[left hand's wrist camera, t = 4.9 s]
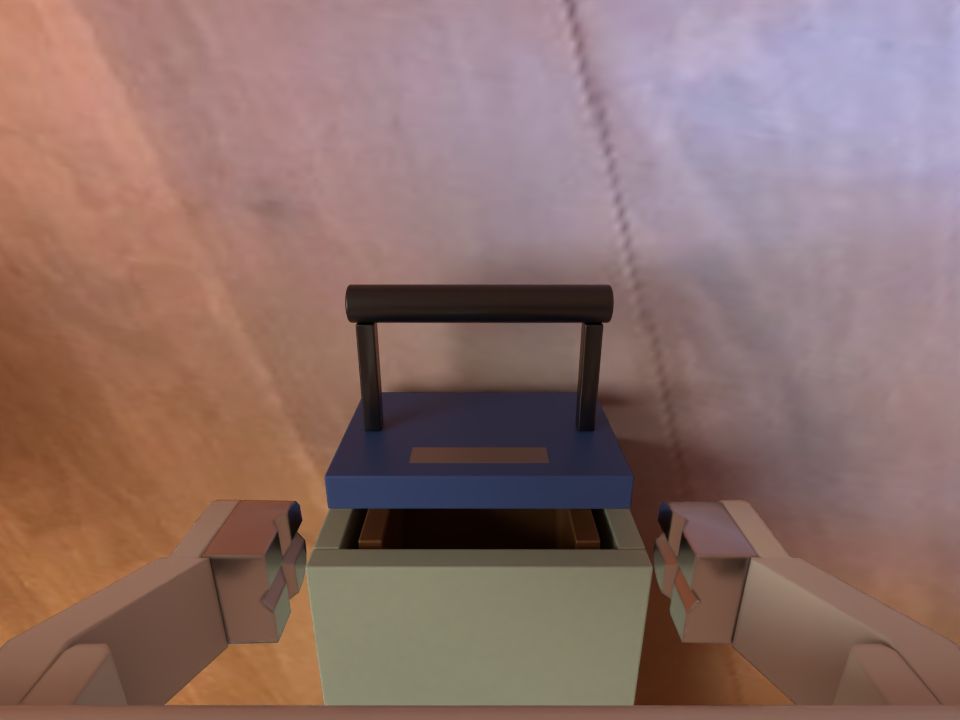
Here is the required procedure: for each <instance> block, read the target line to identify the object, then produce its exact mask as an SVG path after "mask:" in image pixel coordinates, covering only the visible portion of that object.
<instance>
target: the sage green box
mask: <svg viewBox="0 0 960 720" xmlns="http://www.w3.org/2000/svg"><path fill="white" fill-rule="evenodd" d="M367 512H368V509H329V511H328V514H327V516H326V519H325V521H324V523H323V526H322V528H321V531H320V533H319V536H318V538H317V540H316V543H315V545H314V548H313V550H312V553H311V555H310V558H309V560H308V562H307V565H306V568H305V569H306V576H307V583H308V591H309V598H310V605H311V612H312V619H313V626H314V634H315V641H316V648H317V655H318V662H319V669H320V677H321V684H322V691H323V698H324V705H634V702H635V695H636V688H637V681H638V674H639V667H640V659H641V652H642V645H643V638H644V631H645V623H646V616H647V609H648V602H649V595H650V588H651V580H652V573H653V566H652V564H651V561H650V559H649V556H648V554H647V552H646V550H645V549H646V548H645V546H644V544H643V541H642V539H641V536H640V534H639V531H638V529H637V526H636V524H635V522H634V519H633V517H632V514H631V512H630V509H591V512H592V515H593V518H594V522H595V525H596V528H597V531H598V535H599V538H600V541H601V542H600V549H359V544H358V541H359V537H360V534H361V531H362V528H363V525H364V521H365V518H366V515H367Z"/></svg>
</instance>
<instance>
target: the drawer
mask: <svg viewBox="0 0 960 720" xmlns="http://www.w3.org/2000/svg"><path fill="white" fill-rule="evenodd" d="M613 304H614V299H613V291H612V288H611V286H610V285H349V286H348V287H347V291H346V297H345V307H346V314H347V318H348V320H349V322H351V323H357V324H356V336H357V348H358V360H359V372H360V384H361V396H362V398H361V400H360V403H359V405H358V407H357V409H356V411H355V413H354V415H353V417H352V420H351V422H350V424H349V426H348V428H347V430H346V432H345V434H344V436H343V439H342V441H341V443H340V445H339V447H338V449H337V451H336V453H335V456H334V458H333V460H332V462H331V464H330V466H329V468H328V470H327V473H326V475H325V485H326V493H327V502H328V508H330V509H368V512H367V515H366V518H365V521H364V525H363V528H362V531H361V534H360V537H359V541H358V544H359V549H600V542H601V541H600V538H599V535H598V531H597V528H596V525H595V522H594V518H593V515H592V512H591V509H629V508H630V507H631V499H632V490H633V482H634V476H633V474H632V471H631V469H630V467H629V465H628V463H627V461H626V458H625V456H624V454H623V452H622V450H621V448H620V446H619V443H618V441H617V439H616V437H615V435H614V433H613V430H612V428H611V426H610V424H609V422H608V420H607V418H606V415H605V413H604V411H603V409H602V407H601V405H600V403H599V400H598V398H597V395H598V383H599V371H600V359H601V347H602V335H603V324H602V323H608V322H610V320H611V318H612V314H613ZM377 323H582V331H581V346H580V360H579V375H578V389H577V393H485V392H382V390H381V376H380V361H379V347H378V332H377Z"/></svg>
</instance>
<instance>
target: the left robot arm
mask: <svg viewBox="0 0 960 720" xmlns="http://www.w3.org/2000/svg"><path fill="white" fill-rule="evenodd" d="M301 522H302V516H301V510H300V505H299V504H298V503H297V502H296V501H272V500H243V501H242V500H216V501H213V502H211V503H210V504H209V505H208V506H207V508H206V509H205V510H204V512H203V513H202V514H201V516H200V517H199V518H198V520H197V521H196V522H195V524H194V525H193V526H192V527H191V529H190V530H189V531H188V533H187V534H186V535H185V537H184V538H183V539H182V541H181V542H180V543H179V545H178V546H177V547H176V548H175V550H174V551H173V552H172V554H171V555H170V556H169V558H158V559H156V560H155V561H153V562H151V563H149V564H147V565H146V566H144V567H142V568H140V569H138V570H136V571H135V572H133V573H131V574H129V575H127V576H125V577H124V578H122V579H120V580H118V581H116V582H114V583H113V584H111V585H109V586H107V587H105V588H103V589H102V590H100V591H98V592H96V593H94V594H92V595H91V596H89V597H87V598H85V599H83V600H82V601H80V602H78V603H76V604H74V605H72V606H71V607H69V608H67V609H65V610H63V611H61V612H60V613H58V614H56V615H54V616H52V617H50V618H49V619H47V620H45V621H43V622H41V623H39V624H38V625H36V626H34V627H32V628H30V629H29V630H27V631H25V632H23V633H21V634H19V635H18V636H16V637H14V638H12V639H10V640H8V641H7V642H6V643H5V644H4V645H3V646H2V647H1V648H0V720H960V648H959V647H958V646H957V645H956V644H955V643H954V642H953V641H951V640H949V639H948V638H946V637H944V636H942V635H940V634H938V633H937V632H935V631H933V630H931V629H929V628H928V627H926V626H924V625H922V624H920V623H918V622H917V621H915V620H913V619H911V618H909V617H907V616H906V615H904V614H902V613H900V612H898V611H897V610H895V609H893V608H891V607H889V606H887V605H886V604H884V603H882V602H880V601H878V600H877V599H875V598H873V597H871V596H869V595H867V594H866V593H864V592H862V591H860V590H858V589H856V588H855V587H853V586H851V585H849V584H847V583H846V582H844V581H842V580H840V579H838V578H836V577H835V576H833V575H831V574H829V573H827V572H825V571H824V570H822V569H820V568H818V567H816V566H815V565H813V564H811V563H809V562H807V561H805V560H804V559H802V558H791V556H790V555H789V554H788V552H787V551H786V550H785V548H784V547H783V546H782V545H781V543H780V542H779V541H778V539H777V538H776V537H775V535H774V534H773V533H772V531H771V530H770V529H769V528H768V526H767V525H766V524H765V522H764V521H763V520H762V518H761V517H760V516H759V515H758V513H757V512H756V511H755V509H754V508H753V507H752V505H751V504H750V503H749V502H747V501H746V500H744V499H742V500H717V501H675V502H662V504H661V506H660V509H659V516H658V522H659V524H660V526H661V528H662V530H663V532H662V533H661V534H660V535H659V537H658V538H657V539H656V540H655V545H654V570H655V574H656V578H657V582H658V585H659V587H660V590H661V593H663V594H664V595H665V596H667V597H668V598H669V599H671V604H670V611H669V612H670V615H671V617H672V620H673V622H674V624H675V627H676V629H677V632H678V634H679V636H680V639H681V641H682V643H713V644H732V647H733V648H734V649H735V650H736V651H738V652H739V653H740V654H741V655H742V656H743V657H744V658H745V659H746V660H747V661H748V662H750V663H751V664H752V665H753V666H754V667H755V668H756V669H757V670H758V671H759V672H761V673H762V674H763V675H764V676H765V677H766V678H767V679H768V680H769V681H770V682H771V683H773V684H774V685H775V686H776V687H777V688H778V689H779V690H780V691H781V692H782V693H784V694H785V695H786V696H787V697H788V698H789V699H790V700H791V701H792V702H793V703H794V704H796V705H165V704H166V703H167V702H168V701H169V700H170V699H171V698H172V697H173V696H175V695H176V694H177V693H178V692H179V691H180V690H181V689H182V688H183V687H184V686H186V685H187V684H188V683H189V682H190V681H191V680H192V679H193V678H194V677H195V676H197V675H198V674H199V673H200V672H201V671H202V670H203V669H204V668H205V667H206V666H207V665H209V664H210V663H211V662H212V661H213V660H214V659H215V658H216V657H217V656H218V655H220V654H221V653H222V652H223V651H224V650H225V649H226V648H227V647H228V644H246V643H278V642H279V639H280V637H281V634H282V632H283V629H284V627H285V625H286V622H287V620H288V617H289V615H290V613H291V610H290V603H289V599H291V598H292V597H293V596H295V595H296V594H297V593H299V590H300V588H301V585H302V582H303V579H304V574H305V568H306V544H305V540H304V539H303V538H302V536H301V535H300V534H299V533H298V532H297V531H298V528H299V526H300V524H301Z"/></svg>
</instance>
